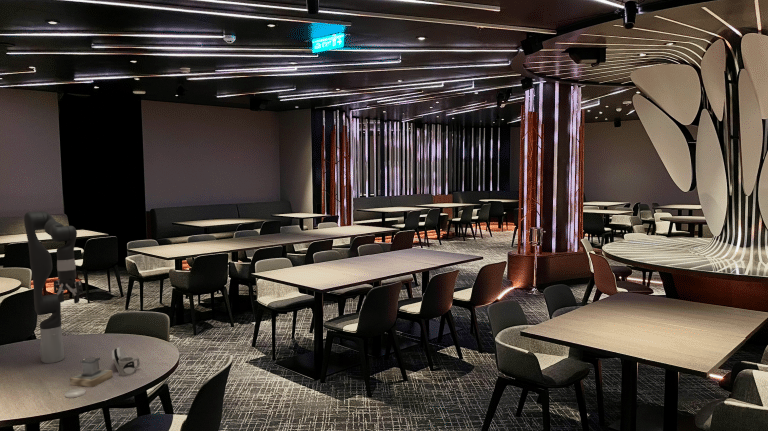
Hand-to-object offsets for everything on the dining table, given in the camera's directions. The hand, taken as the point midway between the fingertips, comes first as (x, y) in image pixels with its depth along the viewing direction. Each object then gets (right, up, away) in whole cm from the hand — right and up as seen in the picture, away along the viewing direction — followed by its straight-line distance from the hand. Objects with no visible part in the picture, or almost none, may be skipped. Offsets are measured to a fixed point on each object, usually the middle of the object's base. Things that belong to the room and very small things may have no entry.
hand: (69, 302), depth 265 cm
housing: (+16, -31, -10) cm, 36 cm away
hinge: (+21, -32, +8) cm, 39 cm away
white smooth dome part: (+16, -36, -24) cm, 46 cm away
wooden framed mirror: (+16, -34, -10) cm, 39 cm away
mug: (+29, -33, 0) cm, 44 cm away
